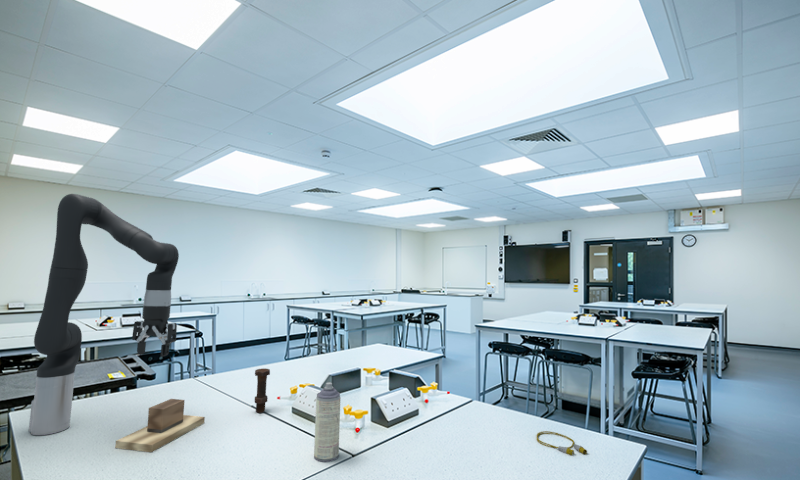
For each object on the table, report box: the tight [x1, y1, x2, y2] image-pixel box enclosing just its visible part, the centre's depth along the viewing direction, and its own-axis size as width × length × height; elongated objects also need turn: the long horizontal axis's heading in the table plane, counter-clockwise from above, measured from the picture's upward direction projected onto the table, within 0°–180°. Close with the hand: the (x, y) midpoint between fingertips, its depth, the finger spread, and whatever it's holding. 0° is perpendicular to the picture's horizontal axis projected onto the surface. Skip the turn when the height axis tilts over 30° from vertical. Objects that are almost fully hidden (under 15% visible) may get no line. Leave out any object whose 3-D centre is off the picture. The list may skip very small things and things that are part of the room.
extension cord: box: [536, 430, 588, 456], centre depth 120 cm, size 12×16×2 cm
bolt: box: [254, 367, 271, 414], centre depth 142 cm, size 6×5×15 cm
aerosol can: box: [313, 382, 341, 463], centre depth 110 cm, size 7×7×20 cm
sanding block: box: [146, 398, 185, 433], centre depth 122 cm, size 5×9×7 cm, turn 170°
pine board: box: [115, 414, 206, 453], centre depth 121 cm, size 12×22×2 cm, turn 170°
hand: (152, 355), depth 124 cm, fingers open, 8 cm apart
